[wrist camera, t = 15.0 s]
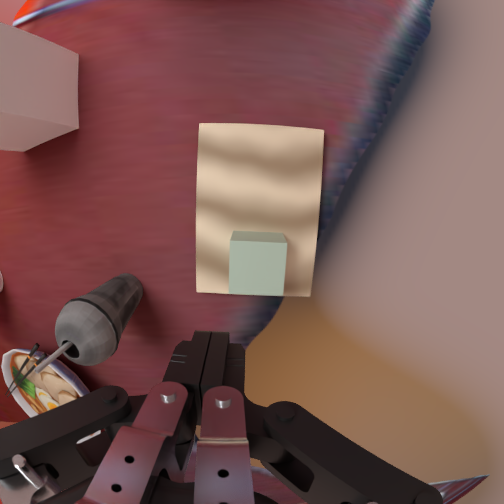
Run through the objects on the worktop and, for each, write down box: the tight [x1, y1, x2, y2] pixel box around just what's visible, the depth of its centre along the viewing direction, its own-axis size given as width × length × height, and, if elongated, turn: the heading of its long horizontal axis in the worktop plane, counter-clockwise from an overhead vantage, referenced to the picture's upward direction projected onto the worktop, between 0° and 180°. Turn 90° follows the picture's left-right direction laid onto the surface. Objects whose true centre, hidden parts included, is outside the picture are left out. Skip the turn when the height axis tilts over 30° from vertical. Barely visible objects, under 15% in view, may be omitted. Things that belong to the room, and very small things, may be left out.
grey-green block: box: [229, 231, 287, 296], centre depth 31 cm, size 6×6×5 cm
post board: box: [196, 123, 324, 297], centre depth 31 cm, size 20×14×6 cm
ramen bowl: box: [1, 343, 101, 443], centre depth 38 cm, size 25×23×8 cm
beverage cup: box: [34, 273, 143, 374], centre depth 27 cm, size 7×7×20 cm
